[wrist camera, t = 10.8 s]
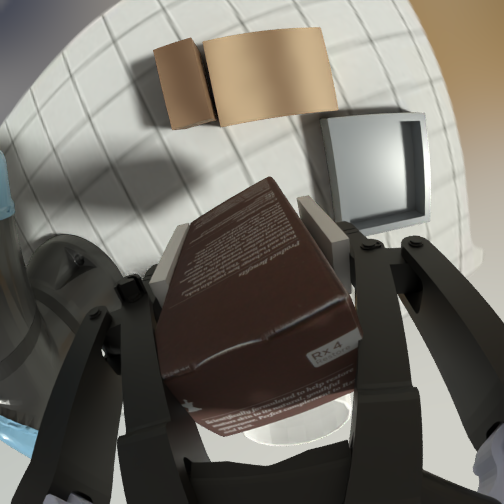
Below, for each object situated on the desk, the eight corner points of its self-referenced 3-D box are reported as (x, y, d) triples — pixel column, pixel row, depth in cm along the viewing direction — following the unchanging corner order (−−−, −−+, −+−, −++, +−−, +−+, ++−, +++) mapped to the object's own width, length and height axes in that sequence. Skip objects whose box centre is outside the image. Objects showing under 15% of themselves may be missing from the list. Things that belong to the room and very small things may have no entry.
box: (227, 274, 19) (220, 442, 8) (189, 221, 17) (125, 378, 6) (306, 231, 18) (385, 384, 7) (273, 172, 16) (345, 282, 5)
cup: (225, 317, 32) (218, 440, 18) (257, 255, 29) (271, 383, 14) (290, 338, 34) (312, 450, 20) (328, 283, 31) (380, 399, 16)
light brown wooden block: (223, 127, 23) (220, 127, 21) (206, 50, 20) (202, 41, 17) (328, 111, 23) (338, 110, 20) (312, 36, 19) (320, 27, 16)
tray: (336, 231, 28) (343, 241, 25) (319, 119, 23) (327, 118, 20) (418, 214, 27) (430, 221, 25) (411, 112, 22) (424, 112, 20)
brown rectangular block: (185, 129, 23) (172, 129, 18) (169, 62, 20) (152, 50, 15) (217, 120, 22) (211, 118, 18) (200, 53, 19) (191, 37, 15)
